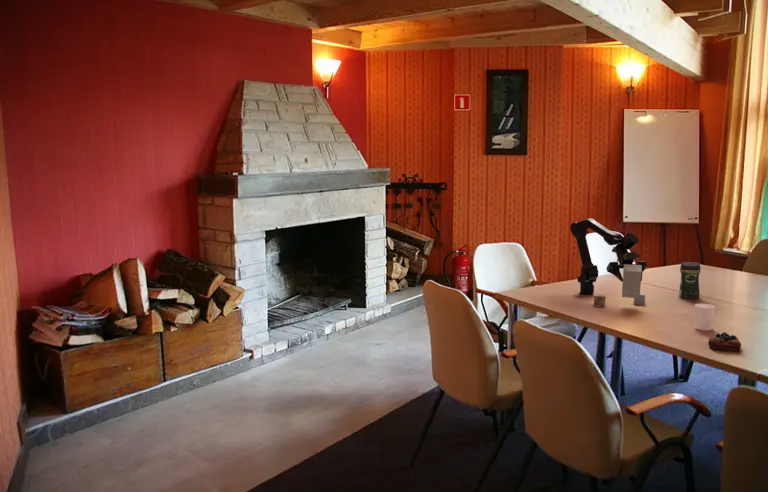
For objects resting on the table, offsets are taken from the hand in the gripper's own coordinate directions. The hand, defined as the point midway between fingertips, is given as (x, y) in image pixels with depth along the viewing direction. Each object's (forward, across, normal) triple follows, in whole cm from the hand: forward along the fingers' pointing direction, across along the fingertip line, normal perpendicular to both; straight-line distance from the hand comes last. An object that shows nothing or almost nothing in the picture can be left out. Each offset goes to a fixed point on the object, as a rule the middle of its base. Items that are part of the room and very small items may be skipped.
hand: (631, 281), depth 304 cm
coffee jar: (-2, +39, +21) cm, 45 cm away
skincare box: (+4, 0, +6) cm, 8 cm away
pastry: (+55, +7, -37) cm, 67 cm away
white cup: (+37, +14, -18) cm, 43 cm away
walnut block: (+4, -12, +15) cm, 20 cm away
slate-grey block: (+4, +8, +15) cm, 18 cm away
